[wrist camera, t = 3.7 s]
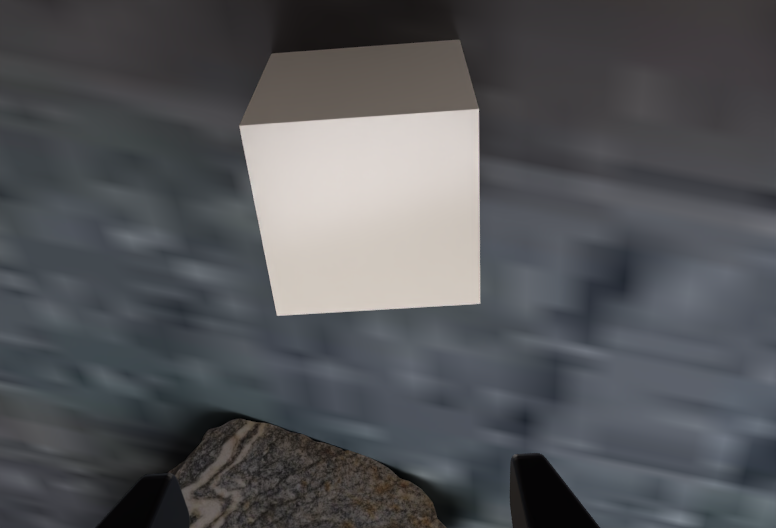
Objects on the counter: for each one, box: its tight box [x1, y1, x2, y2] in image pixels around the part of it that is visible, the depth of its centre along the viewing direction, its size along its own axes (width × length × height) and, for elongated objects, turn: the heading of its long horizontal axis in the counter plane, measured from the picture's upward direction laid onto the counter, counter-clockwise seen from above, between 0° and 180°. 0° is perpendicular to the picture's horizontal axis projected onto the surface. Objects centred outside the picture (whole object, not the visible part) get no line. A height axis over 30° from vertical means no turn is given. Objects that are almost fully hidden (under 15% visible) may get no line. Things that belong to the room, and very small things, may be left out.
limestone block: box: [239, 40, 480, 316], centre depth 19 cm, size 5×5×5 cm
